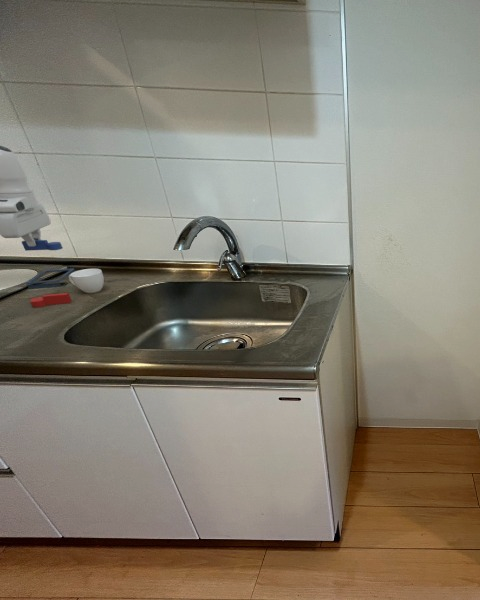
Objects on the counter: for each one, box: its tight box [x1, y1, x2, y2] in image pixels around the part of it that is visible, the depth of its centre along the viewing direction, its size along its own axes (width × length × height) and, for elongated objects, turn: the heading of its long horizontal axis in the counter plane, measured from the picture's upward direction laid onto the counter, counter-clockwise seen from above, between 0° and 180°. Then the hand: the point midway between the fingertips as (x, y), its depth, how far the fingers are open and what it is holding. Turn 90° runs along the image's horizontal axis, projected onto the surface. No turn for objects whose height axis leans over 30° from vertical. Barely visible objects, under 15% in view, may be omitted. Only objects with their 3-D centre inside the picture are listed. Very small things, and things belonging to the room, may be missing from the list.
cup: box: [68, 268, 105, 294], centre depth 105 cm, size 8×10×7 cm
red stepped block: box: [29, 292, 73, 308], centre depth 96 cm, size 9×3×3 cm, turn 115°
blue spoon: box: [21, 239, 63, 251], centre depth 102 cm, size 9×3×3 cm, turn 114°
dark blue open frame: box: [25, 268, 75, 290], centre depth 110 cm, size 12×8×2 cm
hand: (35, 244), depth 102 cm, fingers closed on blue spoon
